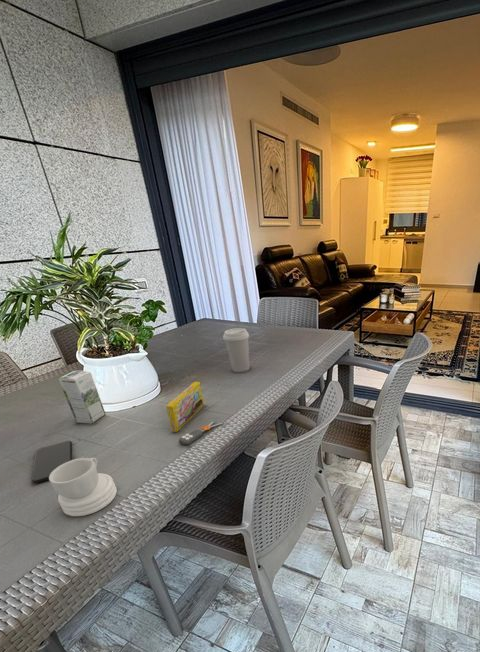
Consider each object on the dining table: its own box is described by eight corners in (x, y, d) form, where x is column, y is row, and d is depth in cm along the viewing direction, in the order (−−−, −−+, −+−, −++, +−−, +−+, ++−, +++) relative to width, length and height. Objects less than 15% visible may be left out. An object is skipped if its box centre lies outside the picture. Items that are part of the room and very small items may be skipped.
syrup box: (90, 413, 109) (73, 369, 102) (107, 414, 108) (90, 370, 101) (75, 422, 104) (56, 377, 97) (92, 424, 103) (74, 378, 96)
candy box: (178, 432, 97) (171, 406, 93) (171, 432, 97) (164, 406, 93) (205, 405, 111) (200, 381, 107) (198, 404, 111) (193, 381, 107)
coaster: (54, 521, 70) (46, 508, 68) (76, 487, 78) (70, 475, 76) (107, 514, 71) (101, 500, 69) (123, 481, 79) (119, 469, 78)
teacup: (86, 505, 68) (75, 484, 65) (49, 503, 69) (38, 482, 66) (117, 472, 77) (109, 452, 74) (84, 471, 77) (75, 451, 75)
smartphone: (37, 451, 91) (32, 485, 79) (35, 449, 91) (30, 482, 79) (72, 442, 95) (73, 472, 83) (71, 439, 94) (71, 469, 82)
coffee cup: (231, 375, 131) (224, 336, 124) (226, 367, 139) (219, 329, 132) (256, 370, 134) (251, 332, 127) (250, 362, 142) (245, 326, 135)
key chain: (187, 446, 91) (186, 441, 90) (178, 442, 93) (177, 438, 92) (224, 423, 100) (223, 419, 100) (214, 420, 102) (213, 416, 101)
